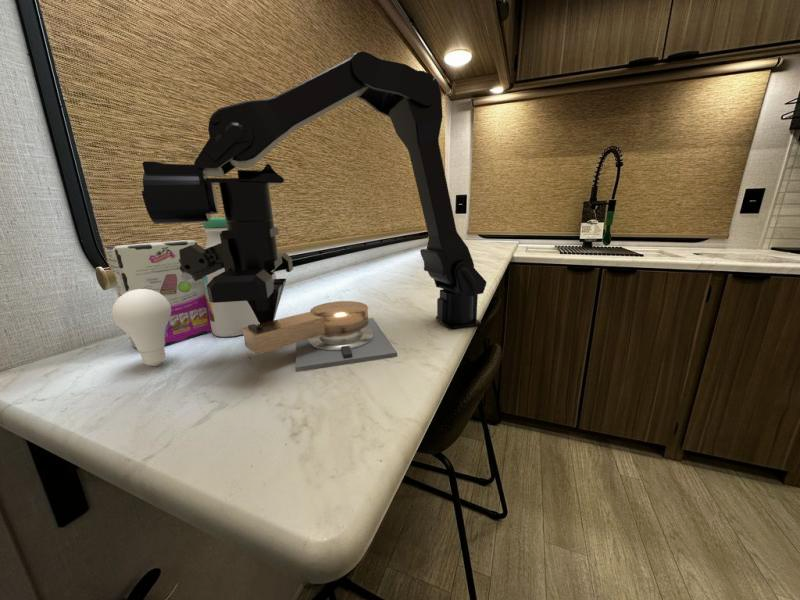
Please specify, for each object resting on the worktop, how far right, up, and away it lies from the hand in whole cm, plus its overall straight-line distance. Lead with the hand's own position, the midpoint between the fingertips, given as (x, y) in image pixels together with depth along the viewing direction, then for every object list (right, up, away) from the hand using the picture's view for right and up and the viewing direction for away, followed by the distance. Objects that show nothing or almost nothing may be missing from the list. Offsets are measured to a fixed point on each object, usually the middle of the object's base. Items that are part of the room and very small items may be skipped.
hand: (267, 330), depth 46 cm
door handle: (+6, 0, +2) cm, 7 cm away
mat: (+10, -2, +6) cm, 12 cm away
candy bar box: (-19, -2, +8) cm, 21 cm away
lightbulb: (-15, -5, -1) cm, 16 cm away
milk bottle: (-11, -1, +12) cm, 16 cm away
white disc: (+10, -2, +6) cm, 12 cm away
